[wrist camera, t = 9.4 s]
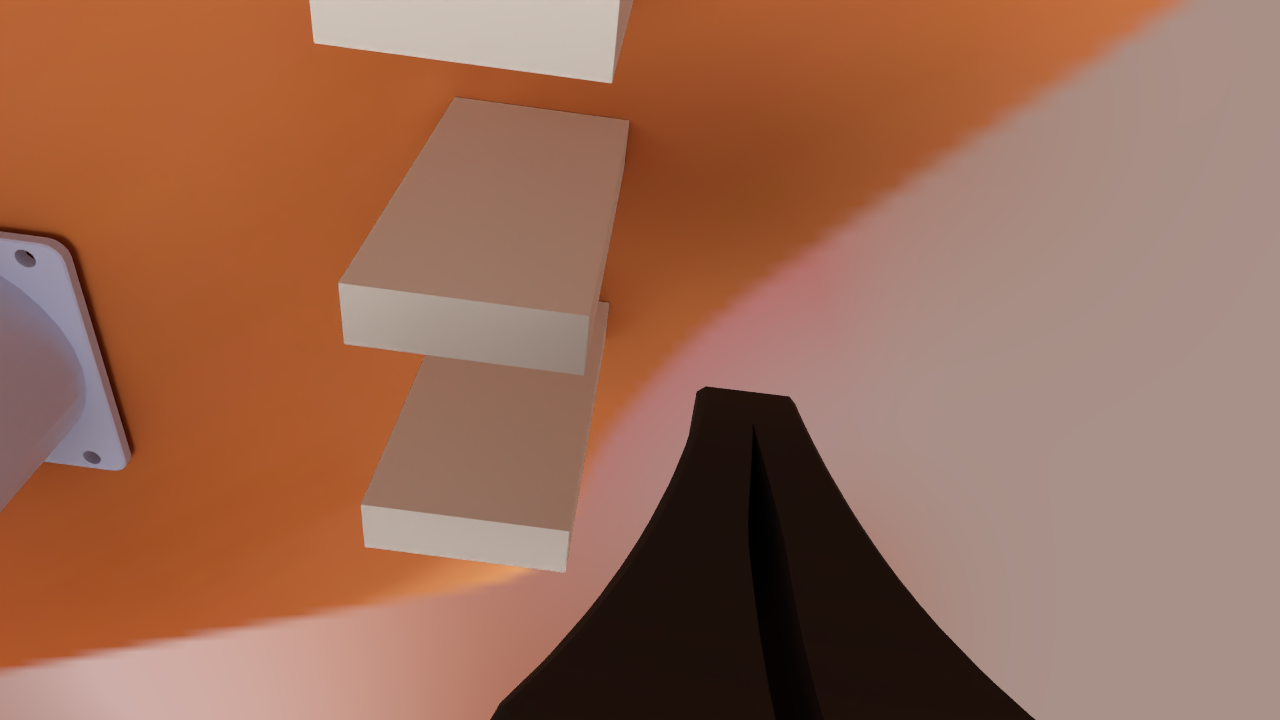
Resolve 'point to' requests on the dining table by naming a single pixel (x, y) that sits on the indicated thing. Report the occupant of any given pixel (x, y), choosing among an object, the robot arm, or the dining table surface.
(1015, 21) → the dining table surface
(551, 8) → the domino
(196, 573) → the dining table surface
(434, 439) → the domino
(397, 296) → the domino
